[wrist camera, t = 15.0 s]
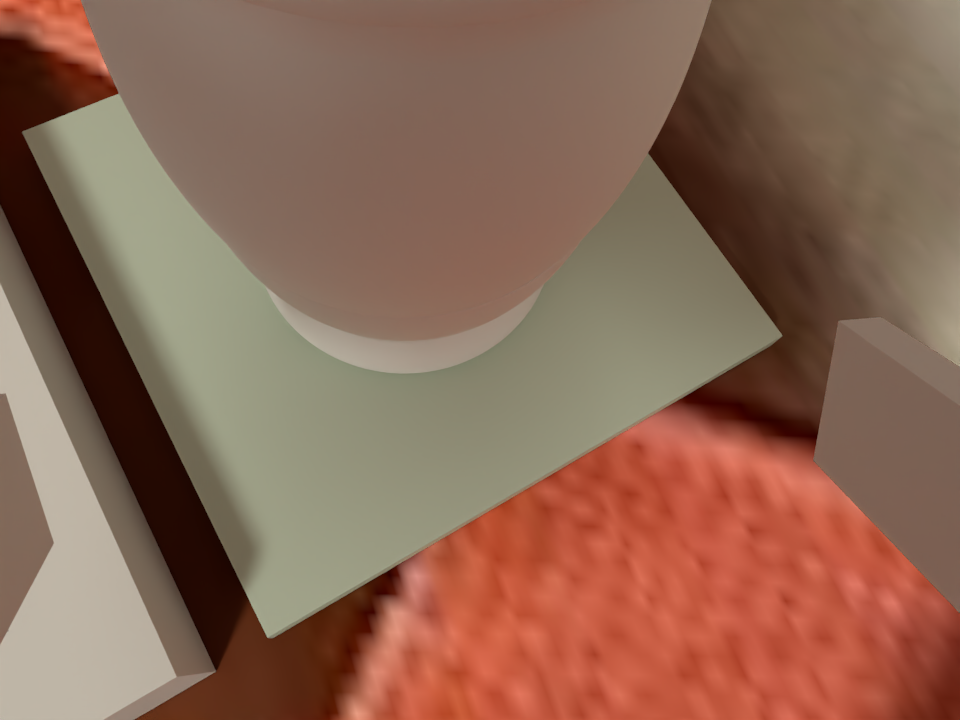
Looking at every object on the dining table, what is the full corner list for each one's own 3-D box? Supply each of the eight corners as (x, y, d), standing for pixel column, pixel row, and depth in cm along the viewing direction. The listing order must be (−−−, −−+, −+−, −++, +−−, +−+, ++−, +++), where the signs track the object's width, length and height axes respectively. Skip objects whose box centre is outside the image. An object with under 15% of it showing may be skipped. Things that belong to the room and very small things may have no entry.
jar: (271, 57, 25) (88, -732, 10) (601, 116, 25) (852, -574, 11) (174, 379, 21) (-306, -166, 7) (562, 445, 21) (866, 51, 7)
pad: (33, 147, 24) (21, 131, 23) (493, -35, 28) (495, -54, 27) (272, 637, 20) (267, 637, 19) (770, 345, 24) (782, 335, 23)
